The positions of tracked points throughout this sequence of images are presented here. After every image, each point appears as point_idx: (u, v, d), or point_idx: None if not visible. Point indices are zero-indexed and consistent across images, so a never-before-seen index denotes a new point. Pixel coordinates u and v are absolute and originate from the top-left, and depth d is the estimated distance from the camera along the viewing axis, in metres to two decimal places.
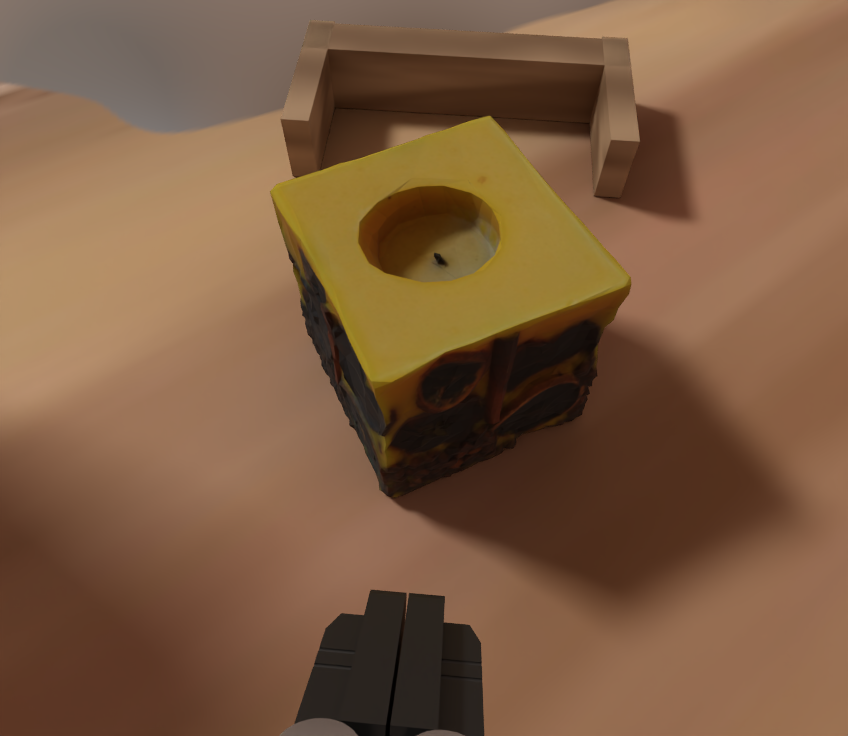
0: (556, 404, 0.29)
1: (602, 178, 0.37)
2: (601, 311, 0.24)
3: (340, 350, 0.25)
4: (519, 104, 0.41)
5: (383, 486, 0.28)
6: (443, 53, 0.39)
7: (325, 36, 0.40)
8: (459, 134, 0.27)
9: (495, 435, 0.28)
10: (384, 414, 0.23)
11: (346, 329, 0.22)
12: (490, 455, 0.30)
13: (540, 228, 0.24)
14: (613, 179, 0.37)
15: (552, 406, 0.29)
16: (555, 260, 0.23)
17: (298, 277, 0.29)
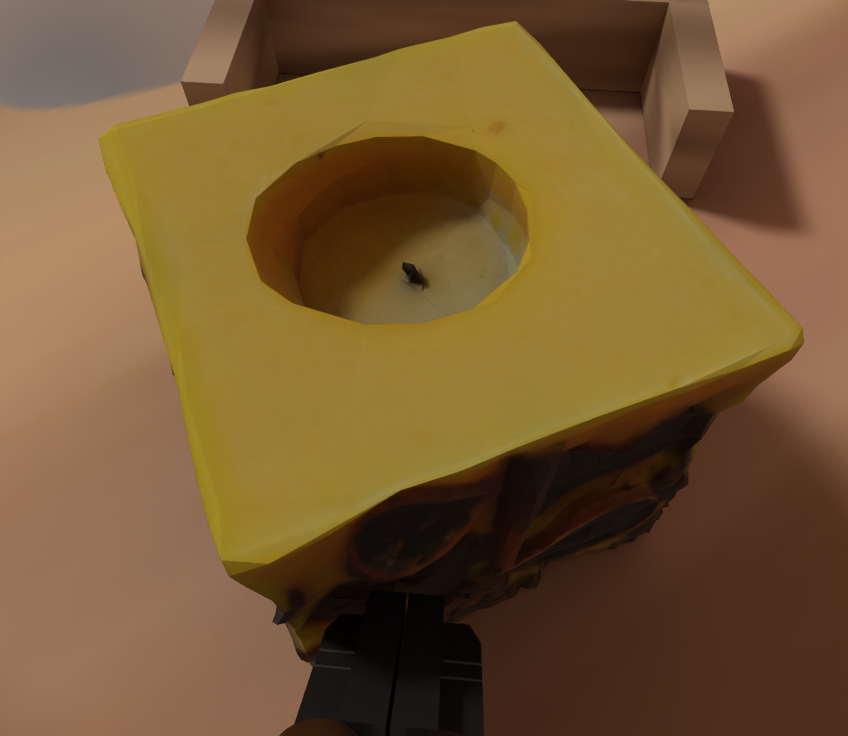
0: (613, 525, 0.17)
1: (669, 170, 0.25)
2: (725, 389, 0.12)
3: None
4: None
5: None
6: None
7: None
8: (460, 48, 0.15)
9: (506, 577, 0.17)
10: (274, 599, 0.11)
11: (188, 426, 0.10)
12: (497, 600, 0.18)
13: (610, 220, 0.12)
14: (685, 171, 0.25)
15: (605, 529, 0.17)
16: (640, 286, 0.11)
17: None
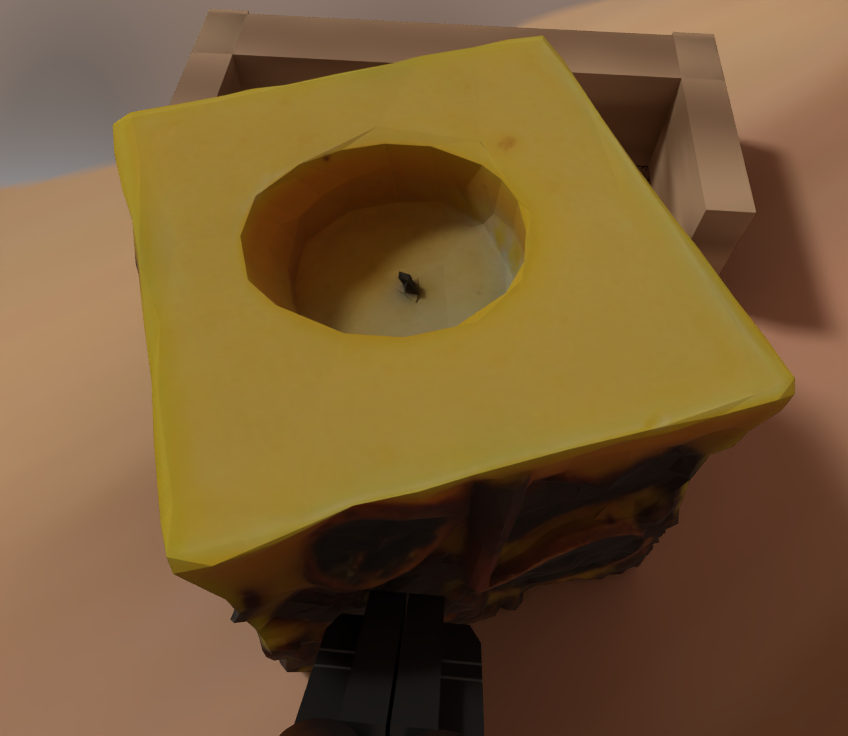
0: (598, 555, 0.17)
1: None
2: (713, 432, 0.12)
3: None
4: None
5: None
6: None
7: (232, 34, 0.25)
8: (480, 60, 0.15)
9: (483, 597, 0.16)
10: (228, 599, 0.11)
11: (155, 419, 0.10)
12: (474, 619, 0.18)
13: (608, 247, 0.12)
14: None
15: (590, 560, 0.16)
16: (630, 319, 0.11)
17: None
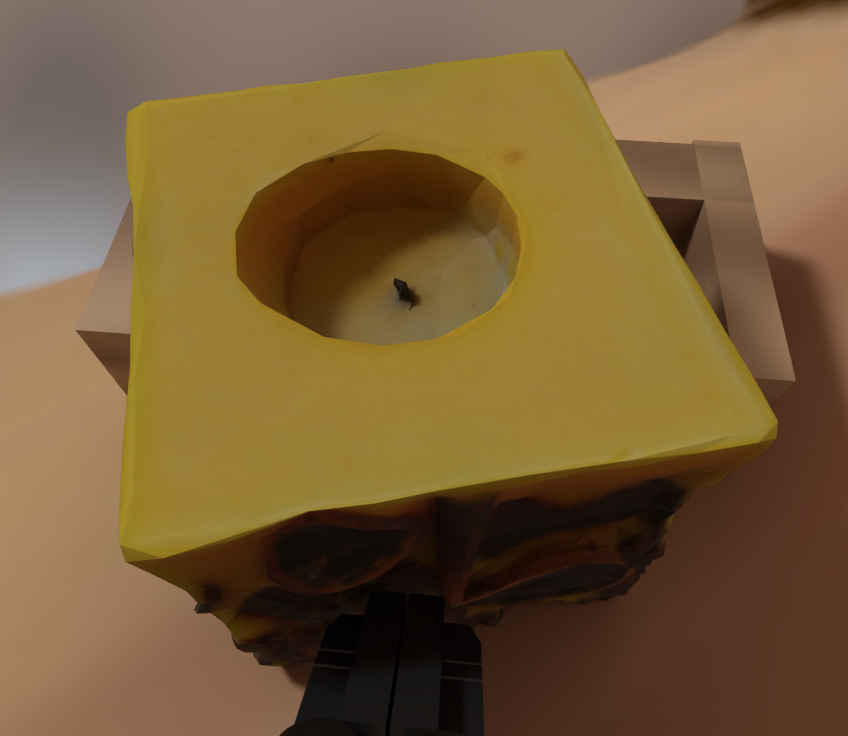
0: (581, 580, 0.16)
1: None
2: (694, 469, 0.11)
3: None
4: None
5: None
6: None
7: None
8: (498, 71, 0.14)
9: (459, 611, 0.16)
10: (188, 590, 0.11)
11: (128, 407, 0.10)
12: None
13: (602, 271, 0.12)
14: None
15: (571, 584, 0.16)
16: (615, 346, 0.11)
17: None
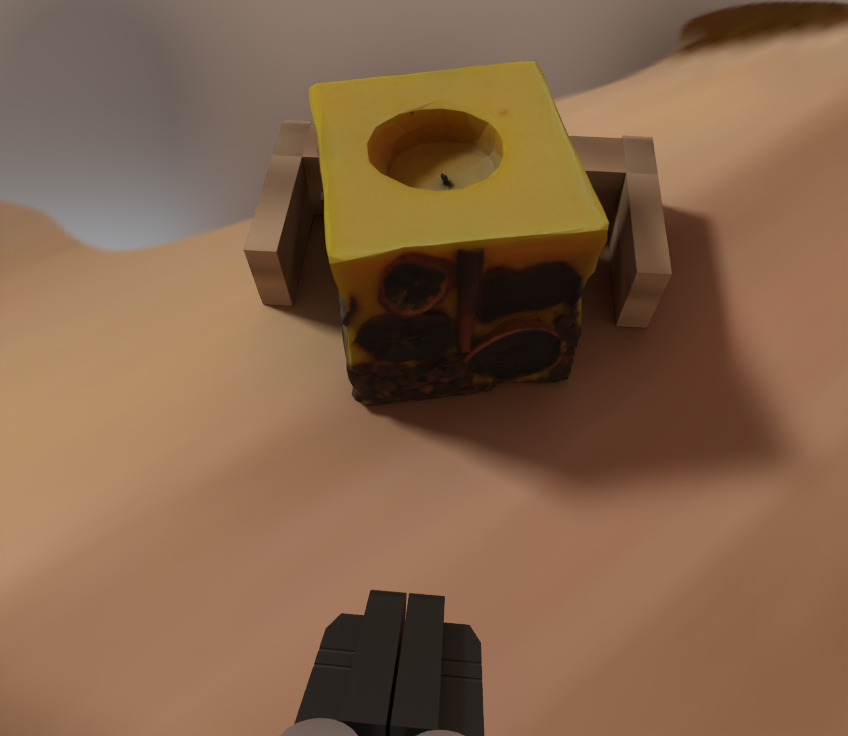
0: (537, 356, 0.29)
1: (626, 309, 0.31)
2: (580, 256, 0.24)
3: None
4: None
5: (353, 389, 0.30)
6: None
7: (300, 140, 0.34)
8: (499, 71, 0.28)
9: (468, 369, 0.29)
10: (343, 299, 0.24)
11: (325, 210, 0.23)
12: (463, 391, 0.30)
13: (540, 163, 0.25)
14: (639, 310, 0.31)
15: (531, 356, 0.29)
16: (541, 193, 0.24)
17: None
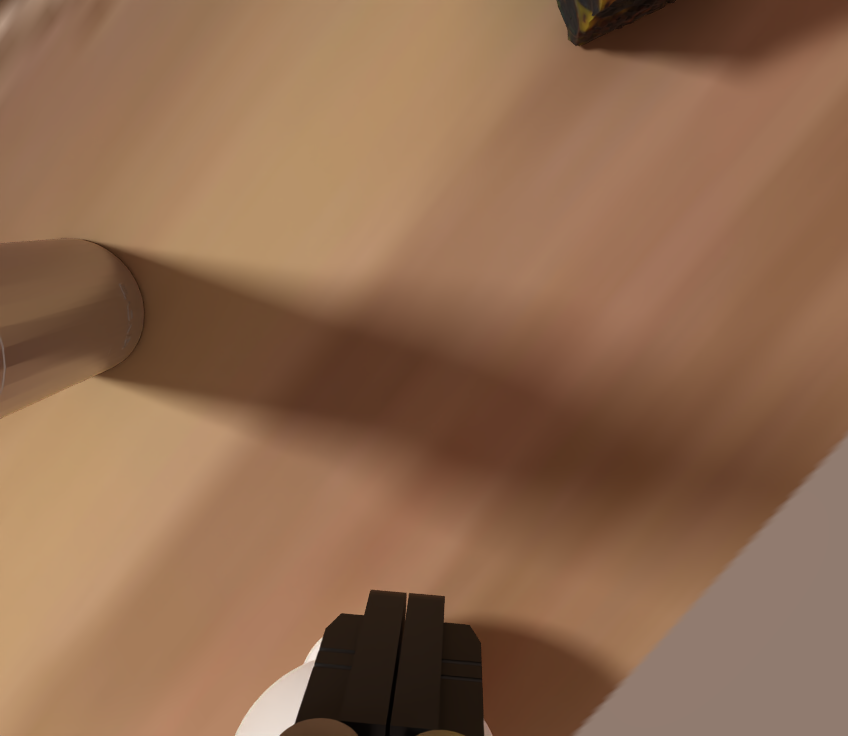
0: None
1: None
2: None
3: None
4: None
5: (573, 38, 0.39)
6: None
7: None
8: None
9: None
10: (602, 5, 0.32)
11: None
12: (655, 9, 0.39)
13: None
14: None
15: None
16: None
17: None
